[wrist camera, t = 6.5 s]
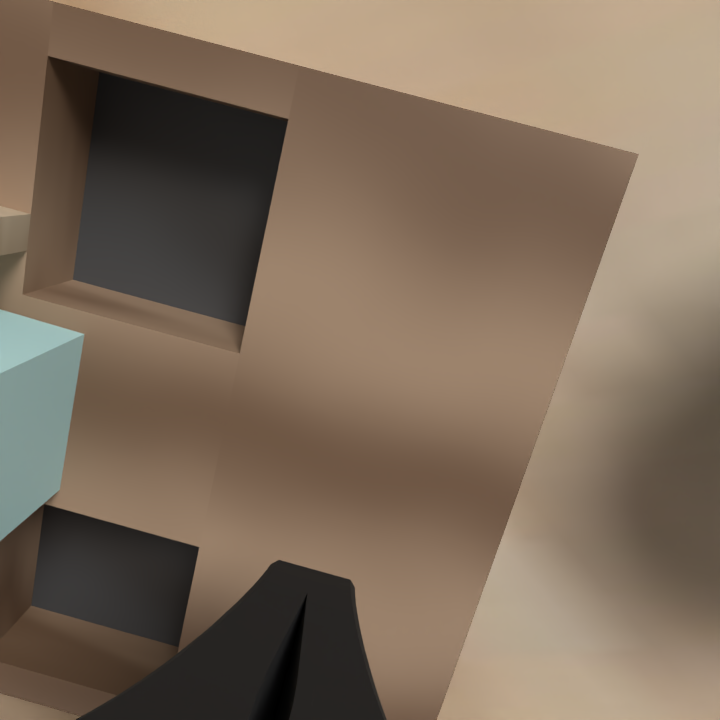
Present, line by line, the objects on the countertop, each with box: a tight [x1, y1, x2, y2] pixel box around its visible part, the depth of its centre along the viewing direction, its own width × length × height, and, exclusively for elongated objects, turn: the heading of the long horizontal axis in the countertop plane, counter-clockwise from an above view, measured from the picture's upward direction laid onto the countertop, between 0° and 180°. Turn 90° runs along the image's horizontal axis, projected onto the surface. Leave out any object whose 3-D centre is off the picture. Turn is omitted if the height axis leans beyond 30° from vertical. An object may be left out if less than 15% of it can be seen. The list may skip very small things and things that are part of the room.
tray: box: [0, 0, 638, 720], centre depth 16 cm, size 17×16×4 cm
